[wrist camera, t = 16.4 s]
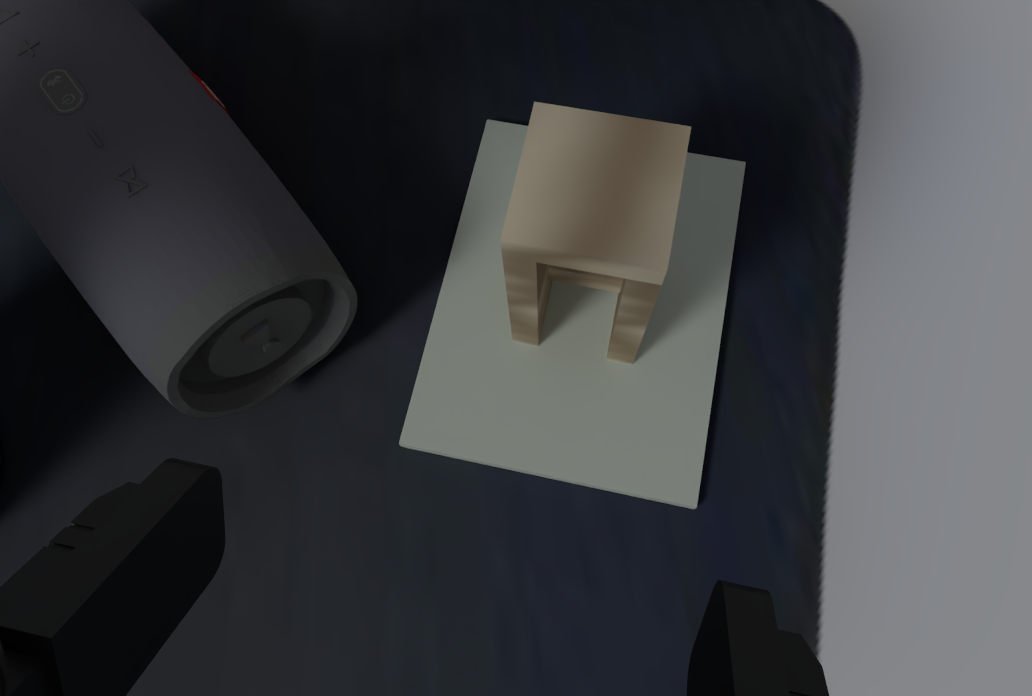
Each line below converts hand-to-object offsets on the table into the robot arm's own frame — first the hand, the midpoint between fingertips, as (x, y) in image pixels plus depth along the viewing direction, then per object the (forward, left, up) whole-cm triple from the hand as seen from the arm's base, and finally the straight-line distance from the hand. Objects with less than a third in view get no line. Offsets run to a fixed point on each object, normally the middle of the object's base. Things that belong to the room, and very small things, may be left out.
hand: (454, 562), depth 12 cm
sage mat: (-7, +11, -20) cm, 24 cm away
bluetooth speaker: (-24, 0, -21) cm, 32 cm away
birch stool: (-7, +11, -20) cm, 24 cm away
